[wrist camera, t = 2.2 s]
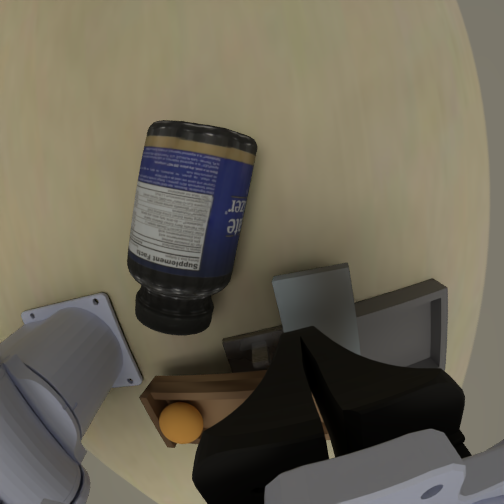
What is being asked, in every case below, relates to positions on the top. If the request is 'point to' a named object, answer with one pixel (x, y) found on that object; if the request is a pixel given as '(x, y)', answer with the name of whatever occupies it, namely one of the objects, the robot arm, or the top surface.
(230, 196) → the pill bottle
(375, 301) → the tray
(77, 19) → the top surface
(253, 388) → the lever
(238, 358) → the fulcrum
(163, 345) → the top surface
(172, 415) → the ball
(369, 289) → the top surface
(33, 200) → the top surface
